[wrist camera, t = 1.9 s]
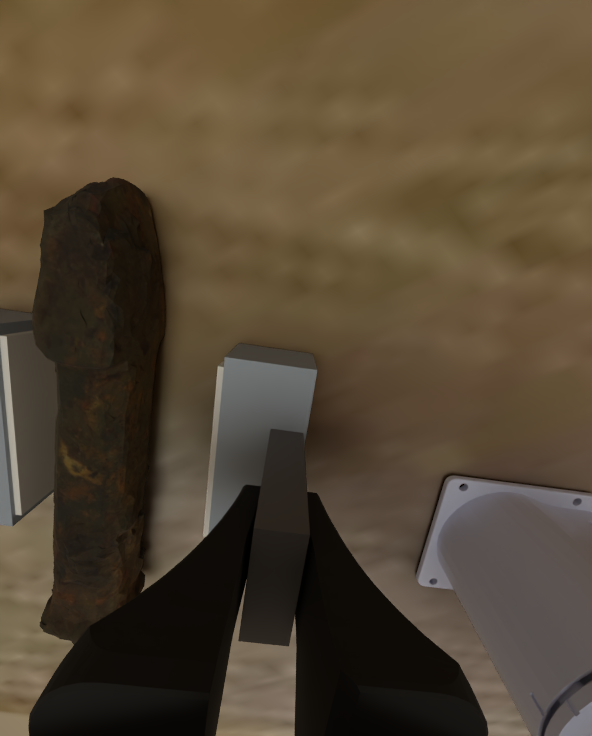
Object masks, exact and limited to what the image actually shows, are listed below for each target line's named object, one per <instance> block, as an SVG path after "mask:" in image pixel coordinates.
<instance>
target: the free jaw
mask: <svg viewBox="0 0 592 736" xmlns="http://www.w3.org/2000/svg"><path fill="white" fill-rule="evenodd" d="M316 376H317V367H316V363H315V360H314V356H313V354H311V353H304V352H297V351H290V350H283V349H276V348H269V347H262V346H255V345H248V344H241V343H239V344H238V345H237V346H236V347H235V348H234V349H233V350H232V351H231V352H229V353H228V354H227V355H226V356H225V360H224V361H223V362H222V363H221V364H220V365H219V366H218V370H217V382H216V393H215V404H214V416H213V427H212V439H211V450H210V461H209V473H208V484H207V496H206V507H205V518H204V530H203V537H206V536H207V535H208V534H209V533H210V532H211V530H212V529H213V528H214V527H215V526H216V525H217V524H218V522H219V521H220V520H221V519H222V517H223V516H224V515H225V514H226V512H227V511H228V510H229V508H230V507H231V506H232V504H233V503H234V501H235V500H236V498H237V497H238V495H239V493H240V492H241V490H242V488H243V486H245V485H246V484H247V485H255V486H261V489H260V494H259V500H258V506H257V512H256V518H255V524H254V530H253V538H252V545H251V552H250V560H249V567H248V574H247V582H246V589H245V597H244V604H243V611H242V619H241V626H240V633H239V641H243V642H253V643H262V644H272V645H282V646H289V643H290V637H291V632H292V627H293V622H294V616H295V611H296V606H297V601H298V595H299V590H300V585H301V580H302V574H303V569H304V564H305V559H306V553H307V548H308V543H309V537H310V527H309V512H308V496H307V481H306V465H305V450H304V446H305V440H306V434H307V429H308V423H309V417H310V411H311V405H312V399H313V393H314V388H315V382H316Z"/></svg>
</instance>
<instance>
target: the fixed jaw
mask: <svg viewBox="0 0 592 736" xmlns="http://www.w3.org/2000/svg"><path fill="white" fill-rule="evenodd" d="M57 413H58V402H57V376H56V372H55V362H53V361H51V360H49V359H47V358H46V356H45V355H44V354H43V353H42V352H41V351H40V350H39V349H38V347H37V346H36V344H35V340H34V335H33V327H32V313H26V312H19V311H12V310H5V309H0V525H6V526H13V525H15V524H16V523H17V522H18V521H19V520H21V519H22V518H23V517H24V516H25V515H27V514H28V513H29V512H30V511H31V510H33V509H34V508H35V507H36V506H37V505H38V504H40V503H41V502H42V501H43V500H44V499H46V498H47V497H48V496H49V495H50V494H52V493H53V492H54V467H55V422H56V416H57Z"/></svg>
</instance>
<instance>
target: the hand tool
mask: <svg viewBox="0 0 592 736" xmlns="http://www.w3.org/2000/svg"><path fill="white" fill-rule="evenodd" d="M40 247H41V258H40V261H41V268H40V273H39V279H38V285H37V290H36V295H35V299H34V305H33V311H32V327H33V335H34V340H35V344H36V346H37V347H38V349H39V350H40V351H41V352H42V353H43V354H44V355H45V356H46V358H47V359H49V360H51V361H53V362H55V372H56V376H57V402H58V413H57V416H56V422H55V467H54V496H53V497H54V504H55V505H54V528H53V539H54V540H53V551H54V553H53V554H54V569H53V570H54V572H53V573H54V585H53V589H52V593H53V594H52V596H51V597H50V598H49V600H48V602H47V604H46V607H45V609H44V612H43V614H42V617H41V622H40V627H41V628H42V629H43V632H46V633H48V634H51V635H54V636H56V637H58V638H60V639H64V640H70V641H72V643H73V644H74V645H75V643H76V642H77V641H78V639H79V638H80V637H81V636H82V634H83V633H84V632H85V631H86V629H87V628H88V627H89V626H90V625H92V624H94V623H96V622H97V621H99V620H101V619H102V618H104V617H105V616H107V615H109V614H110V613H112V612H113V611H115V610H117V609H118V608H120V607H121V606H123V605H125V604H126V603H128V602H129V601H130V600H132V599H133V598H135V597H136V596H138V595H139V594H140V593H141V591H142V589H143V587H144V583H145V575H144V573H143V572H142V571H141V568H142V565H143V557H144V551H145V550H144V549H143V548H141V547H140V543H141V536H142V534H143V528H144V515H145V514H144V512H143V509H142V508H143V500H144V487H145V482H146V478H147V475H148V471H149V465H148V463H147V462H148V444H149V431H150V418H151V409H152V393H153V384H154V376H155V361H156V357H157V353H158V349H159V345H160V341H161V340H162V339H163V337H164V333H165V296H164V287H163V280H162V271H161V263H160V256H159V249H158V243H157V237H156V233H155V228H154V224H153V219H152V213H151V208H150V205H149V202H148V199H147V197H146V195H145V194H144V193H143V192H142V191H141V190H140V189H139V188H138V187H136V186H135V185H133V184H132V183H130V182H128V181H126V180H124V179H120V178H114V177H113V178H110V179H108V180H107V181H106V182H100V183H97V182H93V183H89V184H87V185H86V186H84V187H83V188H82V189H80V190H78V191H77V192H76V193H75V194H73V195H71V196H69V197H67V198H65V199H63V200H61V201H60V202H59V203H58V204H57V205H56V206H55V207H52V208H49V209H47V210H44V228H43V233H42V238H41V243H40Z"/></svg>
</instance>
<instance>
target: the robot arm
mask: <svg viewBox="0 0 592 736" xmlns="http://www.w3.org/2000/svg"><path fill="white" fill-rule="evenodd" d="M461 484H464V485H463V486H462V487H460V485H461ZM260 489H261V486H255V485H247V484H246V485H245V486H243V488H242V490H241V492H240V493H239V495H238V497H237V498H236V500H235V501H234V503H233V504H232V506H231V507H230V508H229V510H228V511H227V512H226V514H225V515H224V516H223V517H222V519H221V520H220V521H219V522H218V524H217V525H216V526H215V527H214V528H213V529H212V530H211V532H210V533H209V534H208V535H207V536H206V537H205V538H204V539H203V540H202V542H201V543H200V544H199V545H198V546H197V547H196V548H195V549H194V550H193V551H192V552H190V553H189V554H188V555H187V556H186V557H185V558H184V559H183V560H182V561H181V562H180V563H178V564H177V565H176V566H175V567H174V568H173V569H172V570H170V571H169V572H168V573H167V574H166V575H164V576H163V577H162V578H161V579H159V580H158V581H157V582H155V583H154V584H153V585H151V586H150V587H148V588H147V589H146V590H144V591H143V592H142V593H140V594H139V595H138V596H136V597H135V598H133V599H132V600H130V601H129V602H128V603H126V604H125V605H123V606H121V607H120V608H118V609H117V610H115V611H113V612H112V613H110V614H109V615H107V616H105V617H104V618H102V619H101V620H99V621H97V622H96V623H94V624H92V625H90V626H89V627H88V628H87V629H86V631H85V632H84V633H83V634H82V636H81V637H80V638H79V639H78V641H77V642H76V643H75V645H74V646H73V647H72V649H71V650H70V651H69V653H68V654H67V655H66V657H65V658H64V659H63V661H62V662H61V664H60V665H59V667H58V668H57V670H56V671H55V673H54V674H53V676H52V678H51V679H50V681H49V683H48V684H47V686H46V688H45V689H44V691H43V692H42V694H41V696H40V697H39V699H38V701H37V702H36V704H35V706H34V708H33V709H32V711H31V713H30V717H29V736H215V735H216V729H217V724H218V718H219V712H220V706H221V700H222V694H223V688H224V682H225V677H226V671H227V665H228V659H229V653H230V648H231V642H232V637H233V632H234V628H235V623H236V619H237V615H238V611H239V607H240V603H241V599H242V595H243V591H244V587H245V583H246V579H247V574H248V567H249V560H250V552H251V545H252V538H253V530H254V524H255V518H256V512H257V506H258V500H259V494H260ZM307 496H308V512H309V527H310V537H309V543H308V548H307V553H306V559H305V564H304V569H303V574H302V580H301V585H300V590H299V595H298V601H297V606H296V611H295V620H296V644H297V653H296V701H295V736H488V727H487V721H486V719H485V717H484V715H483V712H482V710H481V708H480V706H479V703H478V701H477V699H476V697H475V694H474V692H473V690H472V688H471V686H470V684H469V682H468V680H467V679H466V677H465V675H464V673H463V671H462V669H461V667H460V665H459V663H457V662H456V661H455V660H454V659H453V658H451V657H450V656H449V655H448V654H447V653H445V652H444V651H443V650H442V649H441V648H439V647H438V646H437V645H436V644H435V643H433V642H432V641H431V640H430V639H429V638H427V637H426V636H425V635H424V634H423V633H422V632H421V631H419V630H418V629H417V628H416V627H415V626H414V625H413V624H412V623H411V622H410V621H409V620H408V619H407V618H406V617H405V616H404V615H403V614H402V613H401V612H400V611H399V610H398V609H397V608H396V607H395V606H394V605H393V604H392V603H391V602H390V601H389V600H388V599H387V598H386V597H385V596H384V595H383V593H382V592H381V591H380V590H379V589H378V588H377V587H376V586H375V584H374V583H373V582H372V581H371V580H370V578H369V577H368V576H367V575H366V573H365V572H364V571H363V570H362V568H361V567H360V566H359V564H358V563H357V561H356V560H355V559H354V557H353V556H352V554H351V553H350V551H349V550H348V548H347V547H346V545H345V544H344V542H343V540H342V539H341V537H340V535H339V534H338V532H337V530H336V529H335V527H334V525H333V523H332V522H331V520H330V518H329V516H328V514H327V512H326V510H325V508H324V506H323V504H322V502H321V500H320V498H319V496H318V494H317V493H311V492H307ZM574 499H575V500H574ZM432 578H433V579H432ZM416 579H417V581H418V583H419V584H420V585H421V586H426V587H435V588H444V589H453V590H454V591H455V593H456V595H457V597H458V598H459V600H460V602H461V604H462V606H463V608H464V610H465V612H466V613H467V615H468V617H469V619H470V621H471V623H472V625H473V627H474V628H475V630H476V632H477V634H478V636H479V638H480V640H481V642H482V644H483V645H484V647H485V649H486V651H487V653H488V655H489V657H490V659H491V660H492V662H493V664H494V666H495V668H496V670H497V672H498V674H499V675H500V677H501V679H502V681H503V683H504V685H505V687H506V689H507V690H508V692H509V694H510V696H511V698H512V700H513V702H514V704H515V706H516V707H517V709H518V711H519V713H520V715H521V717H522V719H523V721H524V722H525V724H526V726H527V728H528V730H529V732H530V734H531V736H592V493H586V492H578V491H570V490H563V489H555V488H547V487H540V486H532V485H524V484H517V483H509V482H501V481H494V480H486V479H478V478H470V477H463V476H455V475H454V476H449V477H448V478H446V480H445V482H444V485H443V488H442V491H441V495H440V498H439V501H438V505H437V508H436V511H435V514H434V518H433V521H432V524H431V528H430V531H429V534H428V537H427V541H426V544H425V547H424V551H423V554H422V557H421V561H420V564H419V567H418V570H417V574H416Z"/></svg>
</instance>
